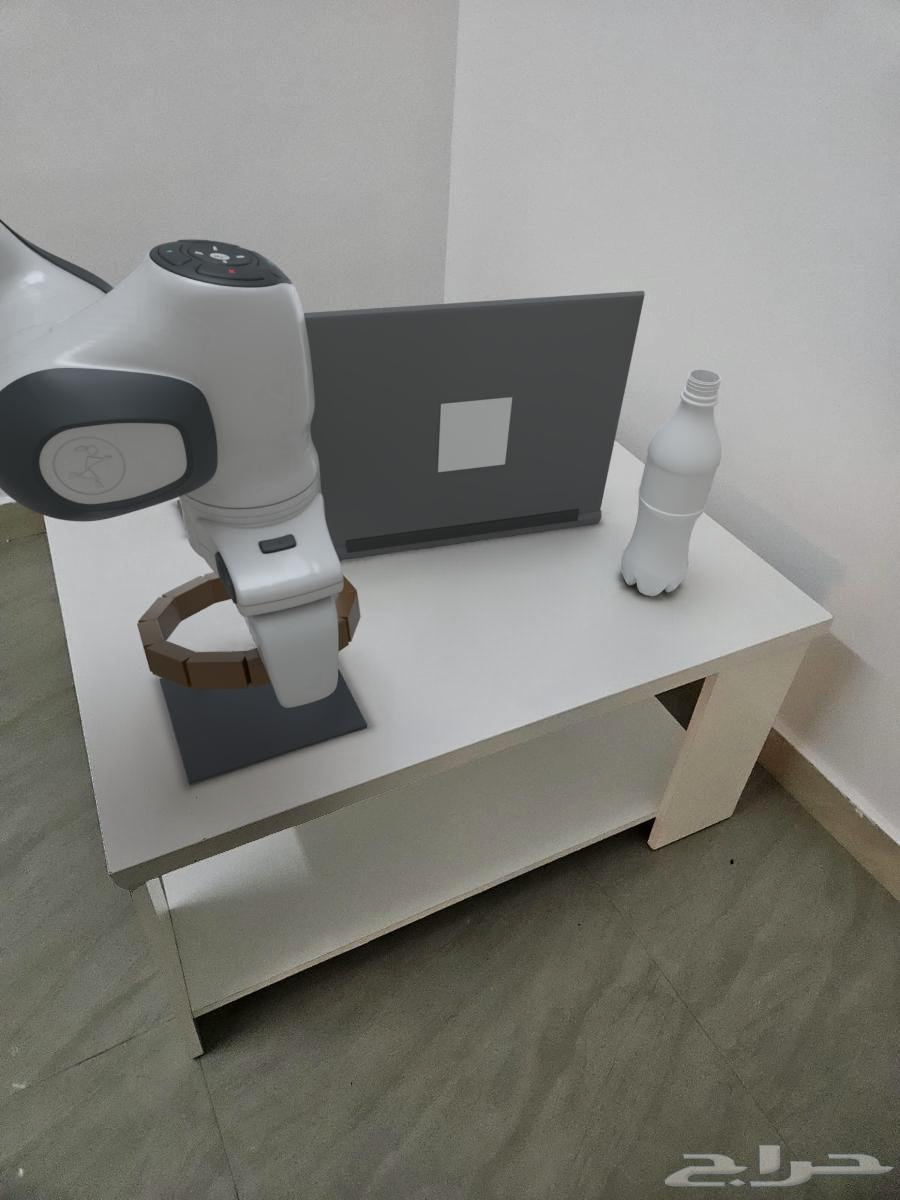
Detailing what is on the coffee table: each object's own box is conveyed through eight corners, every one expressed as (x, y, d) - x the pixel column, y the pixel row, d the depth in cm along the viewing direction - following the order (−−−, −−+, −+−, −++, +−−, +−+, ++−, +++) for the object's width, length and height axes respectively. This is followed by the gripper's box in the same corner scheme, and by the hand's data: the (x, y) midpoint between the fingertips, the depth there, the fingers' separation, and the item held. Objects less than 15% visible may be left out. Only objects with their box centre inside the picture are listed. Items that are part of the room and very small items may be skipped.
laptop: (522, 417, 120) (546, 213, 102) (600, 523, 101) (647, 294, 82) (284, 441, 112) (264, 223, 93) (319, 563, 92) (302, 317, 74)
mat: (189, 785, 69) (189, 782, 69) (160, 681, 77) (159, 678, 77) (367, 727, 74) (367, 724, 74) (321, 636, 83) (321, 634, 83)
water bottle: (604, 577, 93) (650, 371, 76) (644, 554, 96) (696, 353, 80) (654, 611, 89) (714, 401, 72) (693, 585, 92) (759, 380, 76)
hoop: (162, 715, 59) (154, 687, 58) (134, 615, 73) (128, 592, 72) (388, 648, 65) (385, 622, 64) (322, 569, 79) (319, 546, 78)
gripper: (171, 440, 59) (201, 587, 68) (245, 616, 45) (270, 771, 54) (257, 424, 61) (275, 569, 70) (353, 588, 47) (360, 741, 56)
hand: (274, 658), depth 62 cm, fingers closed on hoop, 2 cm apart
